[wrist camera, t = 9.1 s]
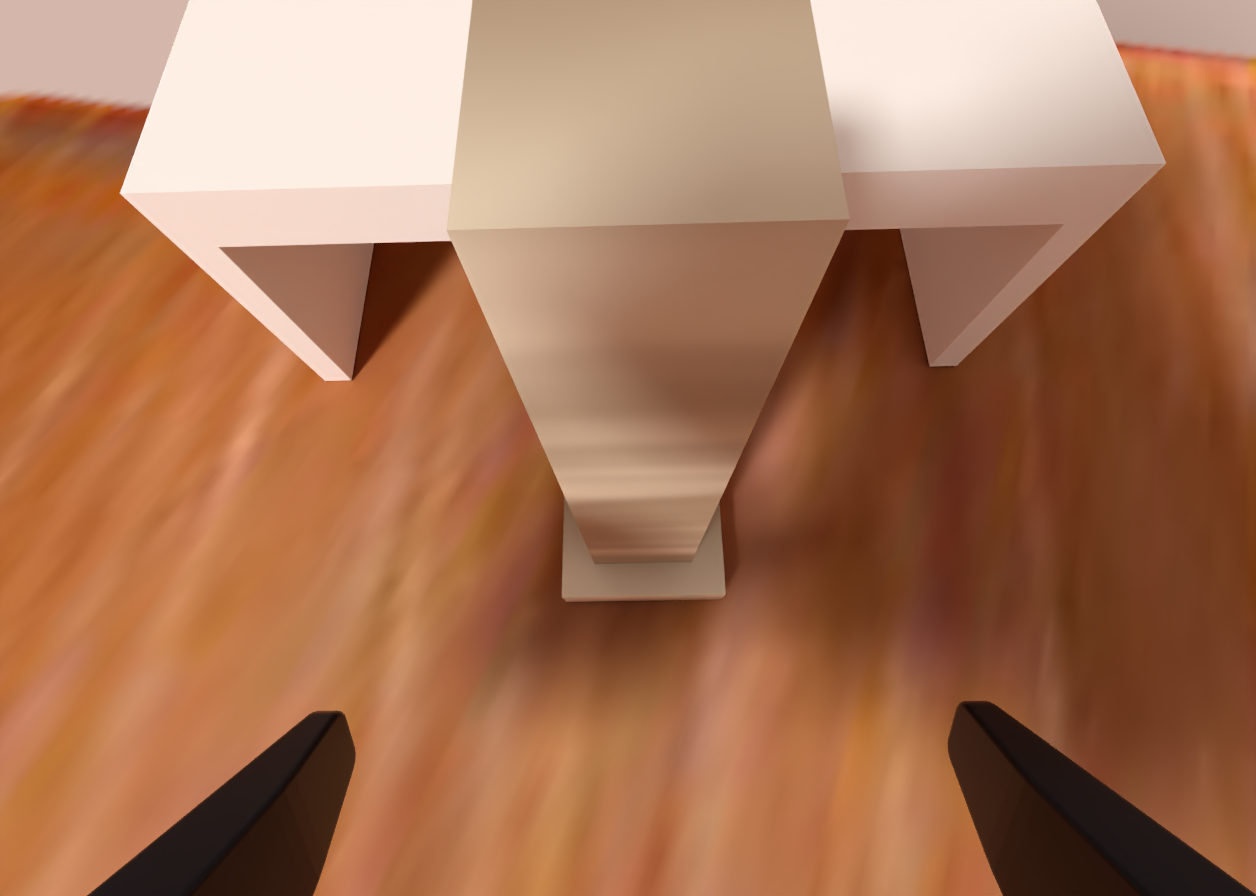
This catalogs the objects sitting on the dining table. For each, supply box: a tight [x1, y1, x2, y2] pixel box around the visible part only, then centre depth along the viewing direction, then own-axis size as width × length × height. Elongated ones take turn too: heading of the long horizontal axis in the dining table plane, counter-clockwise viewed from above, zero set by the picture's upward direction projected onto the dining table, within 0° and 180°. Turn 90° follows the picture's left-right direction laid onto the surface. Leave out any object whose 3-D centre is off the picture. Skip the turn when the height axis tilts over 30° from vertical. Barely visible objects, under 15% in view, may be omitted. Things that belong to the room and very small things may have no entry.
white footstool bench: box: [120, 0, 1166, 381], centre depth 16 cm, size 8×19×8 cm, turn 91°
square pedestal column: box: [447, 0, 850, 602], centre depth 12 cm, size 16×7×13 cm, turn 1°
